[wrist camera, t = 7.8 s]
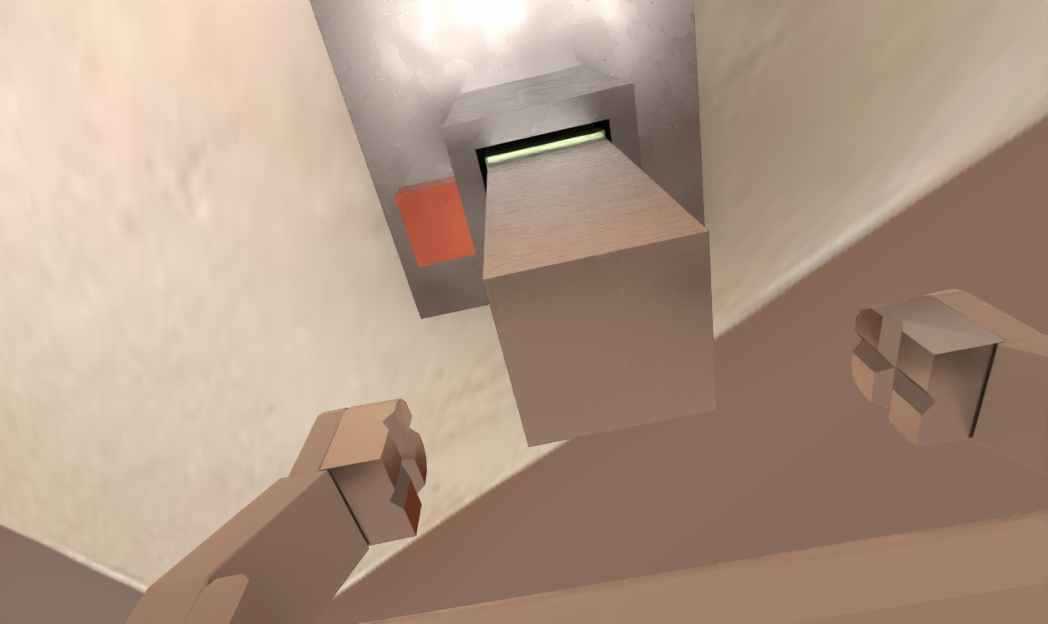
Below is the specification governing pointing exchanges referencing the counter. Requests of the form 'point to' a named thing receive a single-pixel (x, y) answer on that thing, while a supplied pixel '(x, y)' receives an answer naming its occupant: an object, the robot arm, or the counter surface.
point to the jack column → (595, 288)
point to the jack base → (504, 108)
